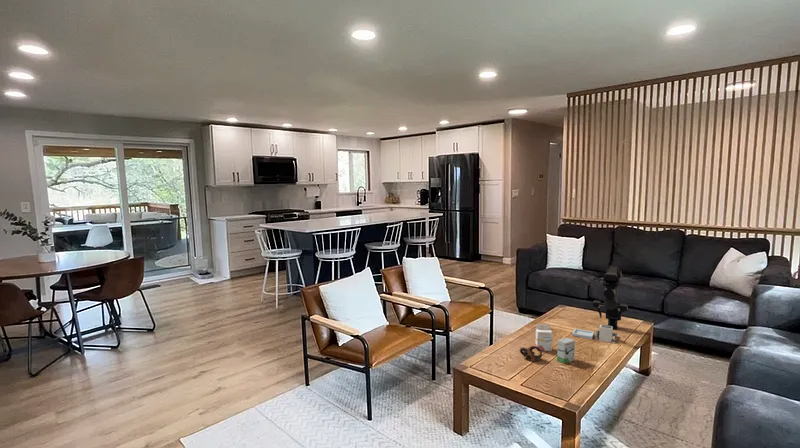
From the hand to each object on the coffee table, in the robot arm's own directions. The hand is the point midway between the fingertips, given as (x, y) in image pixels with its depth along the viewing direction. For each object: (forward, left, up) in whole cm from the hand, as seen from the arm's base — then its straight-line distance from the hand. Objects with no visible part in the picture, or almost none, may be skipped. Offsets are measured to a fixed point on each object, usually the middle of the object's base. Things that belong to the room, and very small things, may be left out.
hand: (609, 319), depth 247 cm
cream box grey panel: (-5, -2, -15) cm, 16 cm away
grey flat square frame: (-6, -2, -15) cm, 16 cm away
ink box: (+39, -18, -15) cm, 45 cm away
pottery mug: (+46, -36, -15) cm, 60 cm away
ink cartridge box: (+30, -32, -15) cm, 46 cm away
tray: (-5, -15, -15) cm, 22 cm away
